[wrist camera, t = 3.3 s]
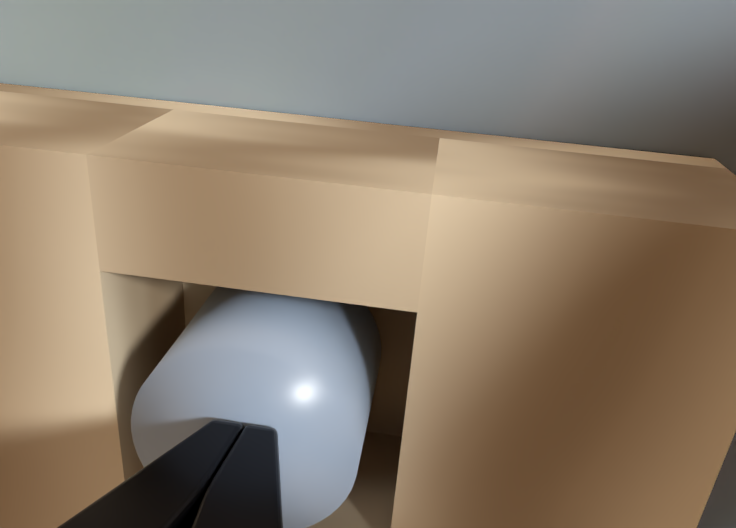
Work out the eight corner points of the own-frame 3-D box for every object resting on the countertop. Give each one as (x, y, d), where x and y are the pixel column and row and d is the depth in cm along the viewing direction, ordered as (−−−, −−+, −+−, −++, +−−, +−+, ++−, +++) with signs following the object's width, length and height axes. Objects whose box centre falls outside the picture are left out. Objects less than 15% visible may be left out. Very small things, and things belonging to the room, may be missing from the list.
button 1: (389, 273, 10) (367, 367, 8) (373, 430, 11) (350, 550, 9) (197, 249, 10) (121, 332, 8) (204, 405, 11) (140, 514, 9)
